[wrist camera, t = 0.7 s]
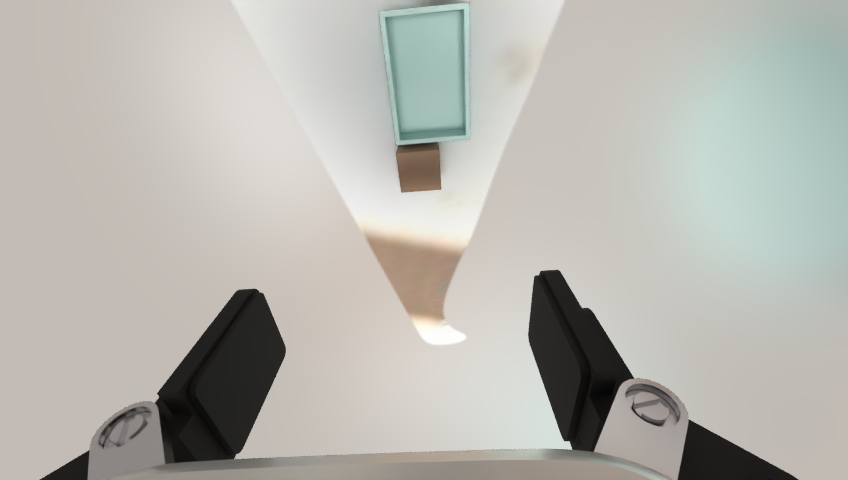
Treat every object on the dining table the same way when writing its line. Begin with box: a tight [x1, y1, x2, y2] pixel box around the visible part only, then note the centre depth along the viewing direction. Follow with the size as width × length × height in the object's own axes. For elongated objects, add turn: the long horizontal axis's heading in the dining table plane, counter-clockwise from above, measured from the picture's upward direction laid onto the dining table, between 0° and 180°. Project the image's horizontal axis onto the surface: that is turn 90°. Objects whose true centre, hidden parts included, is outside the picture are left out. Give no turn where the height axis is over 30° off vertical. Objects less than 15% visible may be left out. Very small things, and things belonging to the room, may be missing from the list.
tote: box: [379, 2, 470, 145], centre depth 30 cm, size 10×7×3 cm, turn 5°
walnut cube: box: [396, 142, 441, 192], centre depth 34 cm, size 4×4×4 cm
